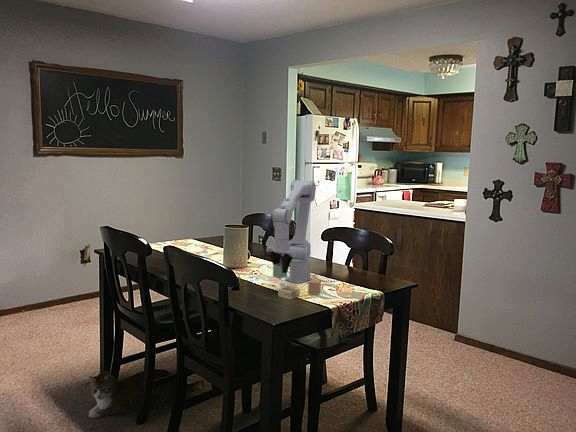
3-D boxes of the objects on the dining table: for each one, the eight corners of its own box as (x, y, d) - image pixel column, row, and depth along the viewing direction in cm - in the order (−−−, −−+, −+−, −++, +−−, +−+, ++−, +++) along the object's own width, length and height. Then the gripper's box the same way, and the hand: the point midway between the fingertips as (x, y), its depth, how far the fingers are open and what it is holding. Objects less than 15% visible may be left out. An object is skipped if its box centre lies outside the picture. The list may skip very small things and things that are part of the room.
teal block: (279, 274, 208) (279, 262, 208) (287, 276, 206) (287, 264, 205) (273, 276, 205) (273, 264, 205) (280, 278, 203) (280, 266, 202)
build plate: (229, 284, 218) (229, 273, 218) (246, 284, 219) (246, 274, 218) (225, 292, 206) (226, 281, 205) (244, 293, 206) (244, 281, 206)
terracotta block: (311, 291, 209) (311, 279, 208) (320, 292, 207) (320, 280, 207) (308, 294, 205) (308, 282, 204) (317, 295, 204) (317, 283, 203)
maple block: (288, 293, 206) (288, 286, 206) (299, 296, 202) (299, 289, 202) (278, 296, 202) (278, 289, 201) (289, 300, 198) (289, 292, 197)
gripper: (261, 237, 205) (260, 269, 207) (288, 242, 196) (287, 276, 198) (273, 235, 211) (272, 267, 213) (300, 239, 201) (299, 273, 203)
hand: (280, 271), depth 206 cm, fingers closed on teal block, 4 cm apart
